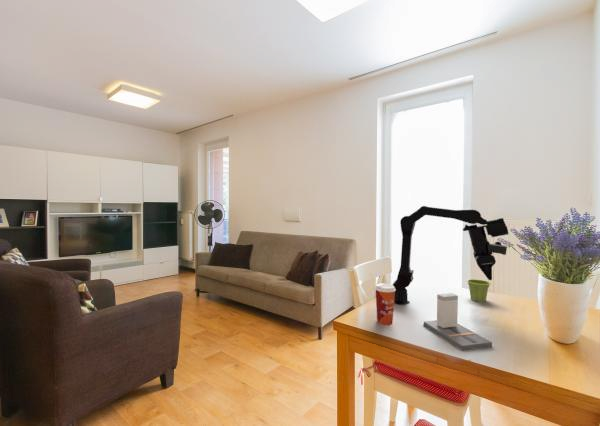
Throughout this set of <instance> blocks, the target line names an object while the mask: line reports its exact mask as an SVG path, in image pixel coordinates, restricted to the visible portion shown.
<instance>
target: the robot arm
mask: <svg viewBox="0 0 600 426" xmlns="http://www.w3.org/2000/svg"><path fill="white" fill-rule="evenodd" d="M425 216H430V217H439V218H445V219H446V218H447V219H453V220H457V221H460V222H464V223H467V224H464V227H463V228H462V231H463V232H467V231H468V235H469V238H470V242H471V246H472V249H473V253H472V254H473V258H474V259H475V262H476V264H477V266H478V268H479V269H480V270H481V272H482V273H483V274H484V275H485V277H486V278H487V280H488V281H492V280H493V266H495V265H496V262H497V261H496V258H495V256H494V255H493V253H494V254H501V255H503V256H505V255H507V249H508V246H506V245H504V244H502V242H500V241H495V242H494V243H490V241H489V240H488V237H487V236H491V238H495V237H501V236H508V235H509V229H508V226H507V225H506V224H507V223H506V222H505V220H504V218H503V217H500V218H496V219H492V220H487V218H486V219H485V218H484V217H482V214H481V212H479V211H478V210H477V209H448V208H441V207H432V206H426V205H423V206H421V207H420V208H418V209H416V210H415V211H414V212H413V213H410V214H409V215H405V216H403V217H402V218H401V219H400V224H399V225H400V230H401V236H402V239H401V254H400V267H399V271H398V274H397V277H396V280H394V282H393V283H392V284H391V285H393V286H394V287H395V289H396V291H395V296H394V304H396V305H405V304H410V301H409V300H408V289H407V288H408V287H409V286H410V285H411V283H412V282H413V280H414V270H413V269H412V270H411V250H412V239H413V238H412V237H413V233H414V230H415V226H416V223H417V222H418V221H419V220H421V219H422V218H423V217H425ZM468 224H471V225H468ZM477 224H479V226H478V225H477ZM485 230H486V231H485ZM486 233H487V234H486Z"/></svg>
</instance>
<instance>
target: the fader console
mask: <svg viewBox="0 0 600 426" xmlns="http://www.w3.org/2000/svg"><path fill="white" fill-rule="evenodd" d="M423 327H426V328H427V329H428V330H429V331H431V332H432V333H435V334H436V335H437V336H439V337H441V338H442V339H443V340H446V342H449V344H451V345H453V346H454V347H456V348H457V349H458V350H460V351H463V352H464V351H468V350H469V351H470V350H478V349H486V348H492V347H493V341H491V340H489V339H487V338H486V337H483V336H481V335H480V334H478V333H476V332H474V331H472V330H471V329H469V328H467V327H465V326H464V325H461V324H460V323H458V322H457V326H456V327H447V328H442V327H440V326H438V325H437V319H434V320H426V321H425V320H424V321H423Z"/></svg>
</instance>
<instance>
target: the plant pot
mask: <svg viewBox="0 0 600 426" xmlns="http://www.w3.org/2000/svg"><path fill="white" fill-rule="evenodd" d="M466 281H467V285H468V288H469V295H470V300H472V301H475V302H477V303H479V302H480V303H484V302H486V301H487V296H488V291H489V287H490V285H491V282H490V281H487V280H484V279H483V280H482V279H475V278H474V279H470V278H469V279H467V280H466Z"/></svg>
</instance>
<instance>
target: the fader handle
mask: <svg viewBox="0 0 600 426" xmlns="http://www.w3.org/2000/svg"><path fill="white" fill-rule="evenodd" d="M458 297H459V296H458V295H457V294H454V293H453V292H450V293H437V295H436V298H437V299H436V320H437V325H438V326H440V327H442V328H447V327H456V326H457V323H458V315H459V314H458V309H459V308H458V307H459V305H458V304H459V303H458V302H459V301H458V299H459V298H458Z"/></svg>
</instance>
